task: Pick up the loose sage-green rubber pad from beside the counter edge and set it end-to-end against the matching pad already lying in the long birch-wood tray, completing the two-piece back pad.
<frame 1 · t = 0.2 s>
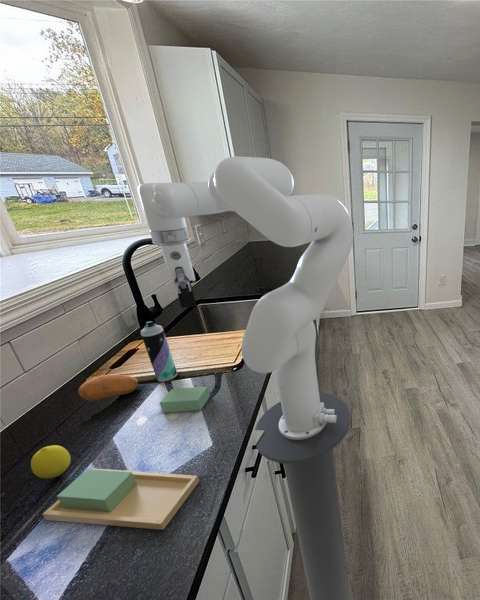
hand: (187, 300, 83), 30 cm above the counter, tool pointing down, fingers open, 9 cm apart
pad b: (187, 404, 90), on the counter
tray: (127, 499, 64), on the counter
potato: (113, 395, 94), on the counter
lemon: (59, 476, 69), on the counter
spray can: (167, 377, 102), on the counter
pad a: (101, 495, 64), resting on tray
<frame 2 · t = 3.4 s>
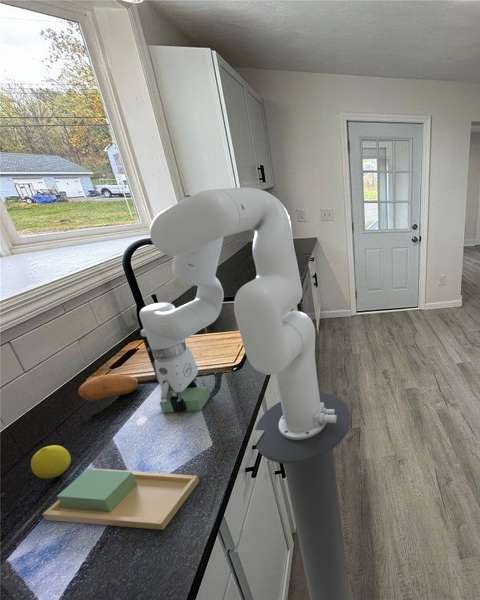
hand: (187, 402, 90), 1 cm above the counter, tool pointing down, fingers closed on pad b, 6 cm apart
pad b: (187, 404, 90), on the counter, touching gripper
everything else where it was.
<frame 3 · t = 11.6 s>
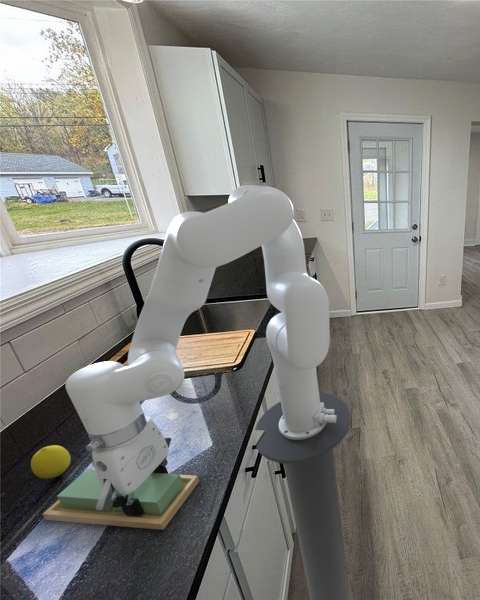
hand: (149, 496, 63), 1 cm above the counter, tool pointing down, fingers closed on pad b, 6 cm apart
pad b: (150, 498, 63), point 1 cm above the counter, touching gripper
everything else where it was.
when the fingers open (2 cm above the counter, at t = 19.7 s): pad b drops 1 cm, resting on tray.
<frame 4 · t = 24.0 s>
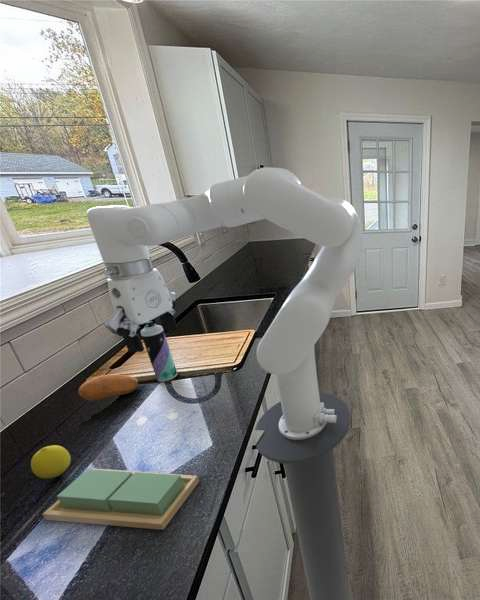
hand: (154, 339, 72), 26 cm above the counter, tool pointing down, fingers open, 9 cm apart
pad b: (150, 499, 63), resting on tray
everything else where it was.
at the end: pad b 0.3 cm from the target spot in the tray, point 0.5 cm above the tray's base; pad b tilted 0°; pad a moved 0.0 cm from its start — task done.
